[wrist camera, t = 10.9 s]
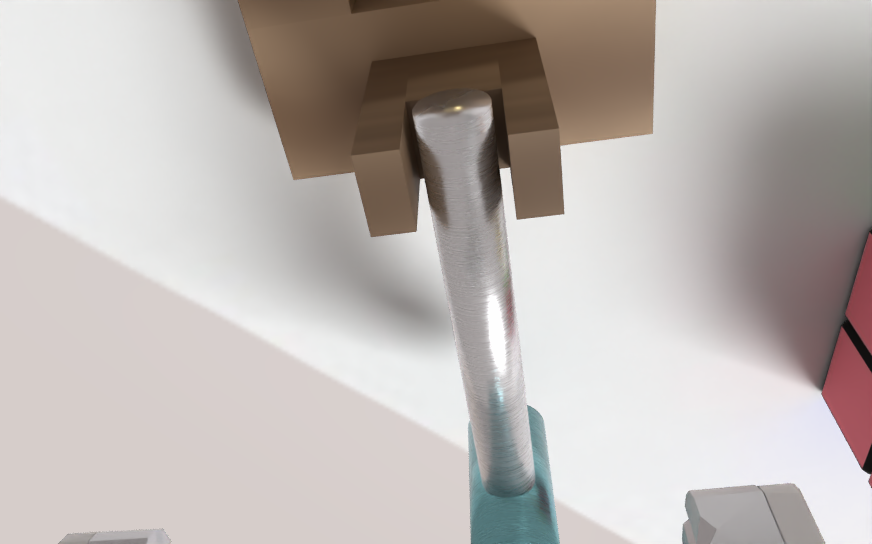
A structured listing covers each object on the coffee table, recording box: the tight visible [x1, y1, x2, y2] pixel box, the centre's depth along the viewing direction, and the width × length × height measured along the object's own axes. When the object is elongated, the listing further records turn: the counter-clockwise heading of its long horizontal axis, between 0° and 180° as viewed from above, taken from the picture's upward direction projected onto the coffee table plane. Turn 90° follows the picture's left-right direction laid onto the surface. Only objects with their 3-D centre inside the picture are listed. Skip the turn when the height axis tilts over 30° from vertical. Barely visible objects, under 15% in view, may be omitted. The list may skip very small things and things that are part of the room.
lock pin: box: [412, 88, 560, 544], centre depth 24 cm, size 18×3×7 cm, turn 9°
